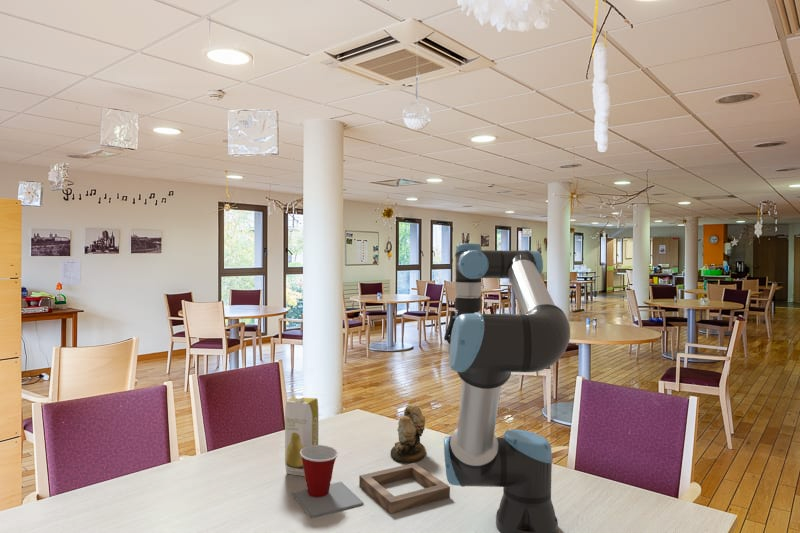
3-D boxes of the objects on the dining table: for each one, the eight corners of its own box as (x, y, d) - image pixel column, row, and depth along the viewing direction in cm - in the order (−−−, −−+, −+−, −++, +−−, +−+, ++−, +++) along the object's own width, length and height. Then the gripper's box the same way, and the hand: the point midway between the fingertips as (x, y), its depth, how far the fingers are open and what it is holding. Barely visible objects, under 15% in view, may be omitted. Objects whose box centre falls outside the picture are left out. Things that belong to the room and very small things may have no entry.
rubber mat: (363, 504, 143) (363, 502, 143) (311, 517, 136) (311, 516, 136) (341, 483, 156) (341, 481, 156) (292, 494, 149) (292, 492, 149)
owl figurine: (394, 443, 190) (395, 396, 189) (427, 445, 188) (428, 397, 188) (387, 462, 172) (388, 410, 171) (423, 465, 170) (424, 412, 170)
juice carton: (281, 474, 162) (282, 397, 161) (295, 464, 169) (295, 390, 169) (308, 479, 159) (309, 400, 158) (321, 468, 166) (321, 393, 166)
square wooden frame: (449, 497, 148) (449, 486, 148) (390, 513, 138) (390, 502, 138) (414, 472, 164) (414, 462, 164) (359, 485, 155) (359, 475, 155)
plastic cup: (330, 503, 142) (330, 460, 142) (293, 499, 145) (293, 456, 144) (343, 486, 153) (343, 445, 153) (308, 482, 155) (308, 442, 155)
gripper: (507, 299, 143) (506, 377, 144) (453, 293, 165) (452, 360, 165) (485, 300, 139) (484, 380, 140) (433, 294, 161) (432, 362, 162)
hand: (467, 369), depth 153 cm, fingers open, 13 cm apart
